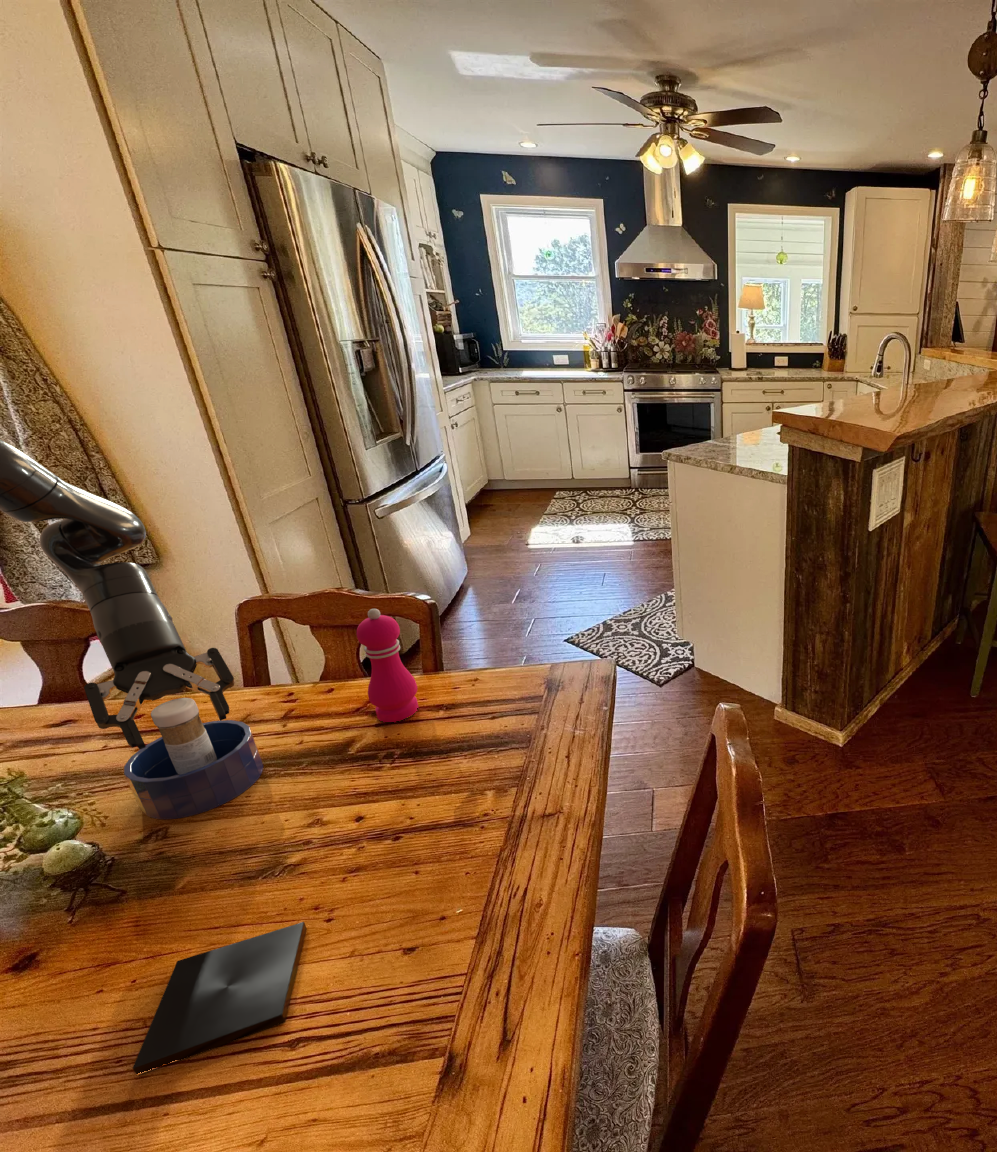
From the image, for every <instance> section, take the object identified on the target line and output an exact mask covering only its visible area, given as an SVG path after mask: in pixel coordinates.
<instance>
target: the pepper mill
mask: <svg viewBox="0 0 997 1152" xmlns="http://www.w3.org/2000/svg"><path fill="white" fill-rule="evenodd" d="M400 634H401V628H400V625H399V623H398V621H396V619H394V618H393V617H392V616H389V615H384V614H381V611H380V610H379V609H377V608H371V609H369V610H368V611H367V618H365V619H364V620H362V621H361V622H360V623H359V624H358V626H357V628H356V639H357V641H358V642H359V644H360V645H362V646H364V648H363V650H364V652H365V654H364V655H365V657H366V658H368V659H369V661H370V665H371V674H370V679H369V683H368V686H367V696H368V701H369V703H370V704H372V705H373V706H374V707H375V708H374V709H375V714H376V718H377V720H378V721H379V720H380V721H379V722H381V721H383V722H382V723H385V722H394V723H397V722H396V721H399V722H401V721H400V720H403V719H405V718H407V717H409V716H411V715H413V714H414V713H415V712H416V711H417V712H418V710H417V708H418V709H419V703H418V698H417V697H416V695H417V693H418V685H417V682H416V679H415V677H414V676H413V675H412V673H411V672H410V671H409V670H408V669H407V667H405V665H404V664H403V662H402V660H401V657H400V652H399V651H400V650H401V645H400V640H399V639H398V638H399V636H400ZM417 712H416V713H417ZM416 713H415V714H416ZM415 714H414V715H415ZM414 715H413V716H414ZM411 717H412V716H411ZM405 720H406V719H405ZM403 721H404V720H403Z"/></svg>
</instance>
